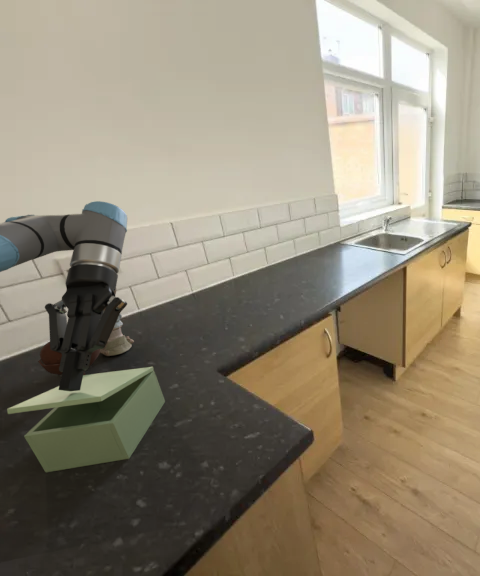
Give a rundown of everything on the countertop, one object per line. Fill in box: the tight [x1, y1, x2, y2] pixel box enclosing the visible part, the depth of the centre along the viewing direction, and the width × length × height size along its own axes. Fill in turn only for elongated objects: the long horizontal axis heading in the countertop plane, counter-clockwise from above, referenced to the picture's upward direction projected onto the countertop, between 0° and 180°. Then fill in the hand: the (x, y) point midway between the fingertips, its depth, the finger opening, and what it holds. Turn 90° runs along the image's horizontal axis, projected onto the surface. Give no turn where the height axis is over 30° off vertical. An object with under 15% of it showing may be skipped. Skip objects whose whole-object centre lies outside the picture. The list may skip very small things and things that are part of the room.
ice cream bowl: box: [37, 341, 101, 376], centre depth 78 cm, size 11×11×15 cm
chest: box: [23, 370, 166, 473], centre depth 64 cm, size 16×14×9 cm
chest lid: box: [6, 366, 154, 415], centre depth 61 cm, size 17×14×1 cm
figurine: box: [99, 288, 135, 357], centre depth 92 cm, size 9×8×20 cm
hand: (69, 389), depth 56 cm, fingers closed
